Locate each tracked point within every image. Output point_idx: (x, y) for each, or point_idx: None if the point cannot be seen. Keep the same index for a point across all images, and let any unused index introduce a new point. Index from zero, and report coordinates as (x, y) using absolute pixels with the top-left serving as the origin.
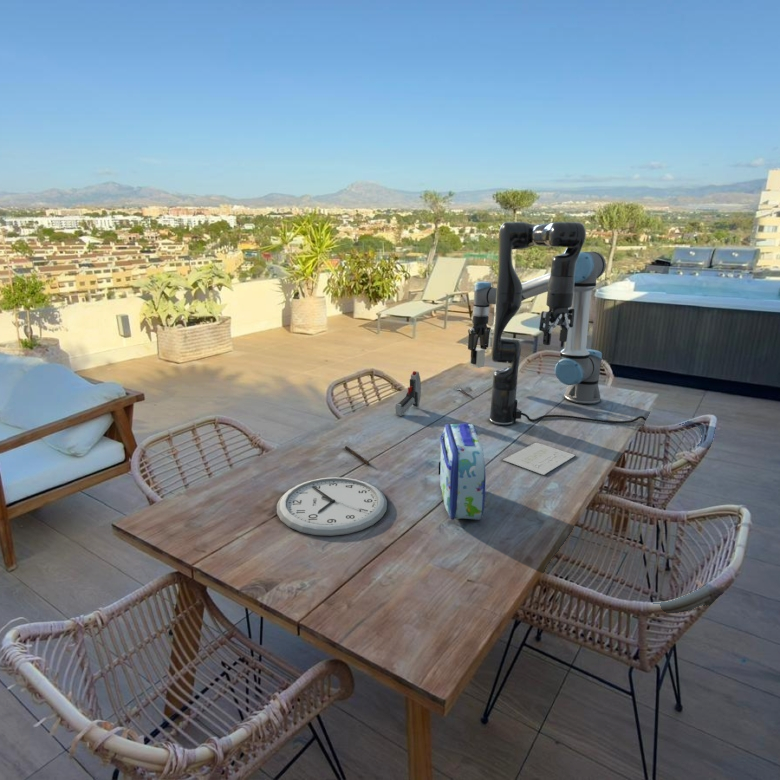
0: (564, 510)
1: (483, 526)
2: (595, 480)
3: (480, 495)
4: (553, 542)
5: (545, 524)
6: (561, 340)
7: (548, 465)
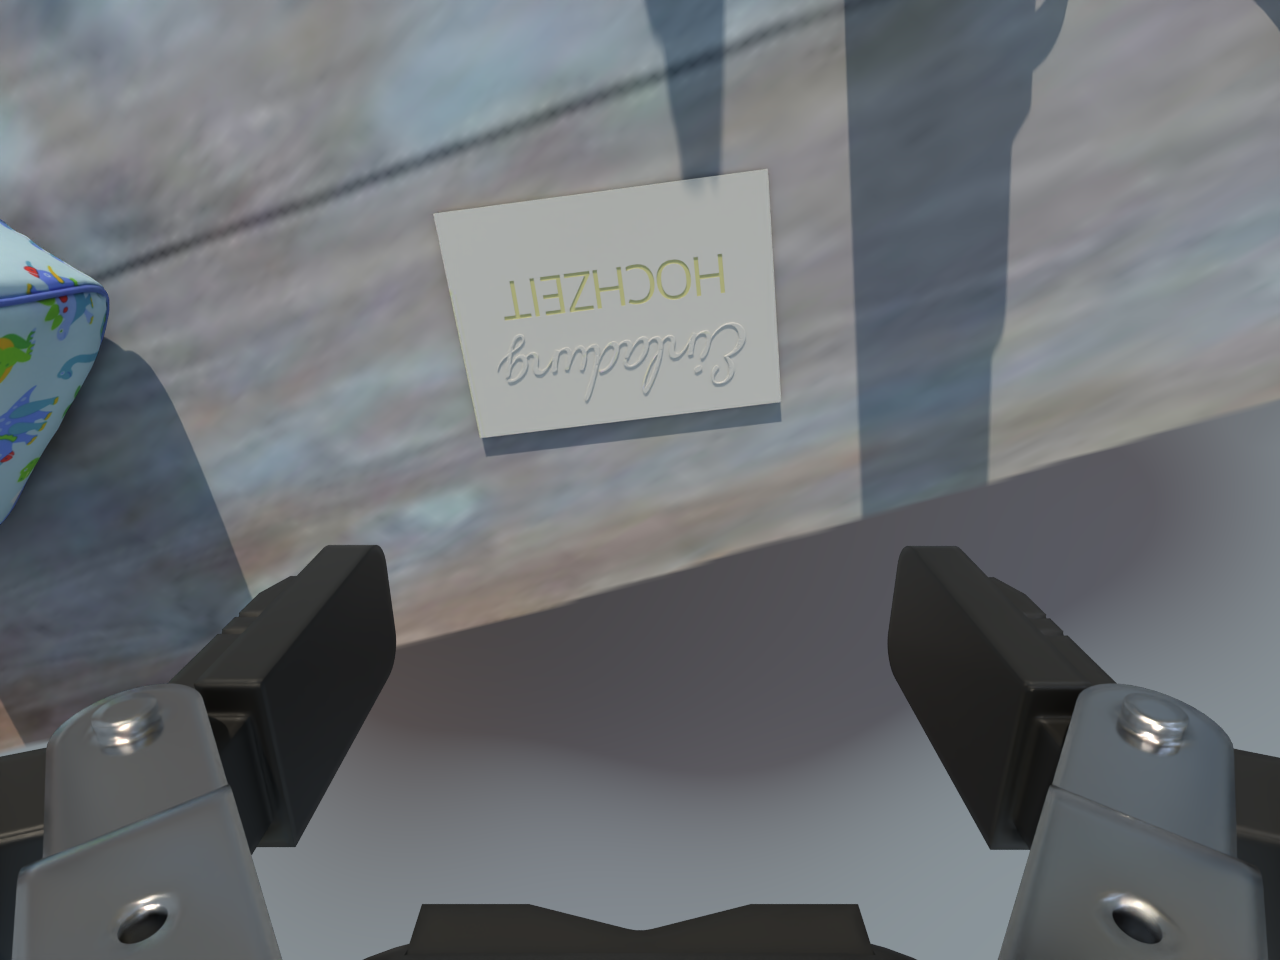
0: None
1: (4, 544)
2: (629, 577)
3: None
4: None
5: None
6: (900, 593)
7: (574, 394)
